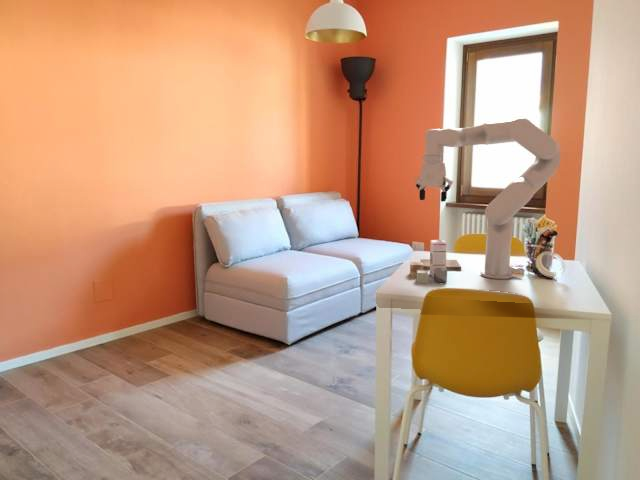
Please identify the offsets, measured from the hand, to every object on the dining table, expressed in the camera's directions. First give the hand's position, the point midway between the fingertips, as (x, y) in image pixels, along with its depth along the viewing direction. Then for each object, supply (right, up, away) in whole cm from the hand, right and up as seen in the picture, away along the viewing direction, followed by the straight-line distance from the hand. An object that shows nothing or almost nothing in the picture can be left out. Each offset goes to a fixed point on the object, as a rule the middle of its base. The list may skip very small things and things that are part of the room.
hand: (432, 200), depth 219 cm
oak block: (-8, -31, -5) cm, 32 cm away
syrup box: (+1, -31, -5) cm, 32 cm away
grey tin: (0, -33, -15) cm, 36 cm away
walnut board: (+6, -28, +11) cm, 31 cm away
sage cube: (-7, -33, -15) cm, 37 cm away
